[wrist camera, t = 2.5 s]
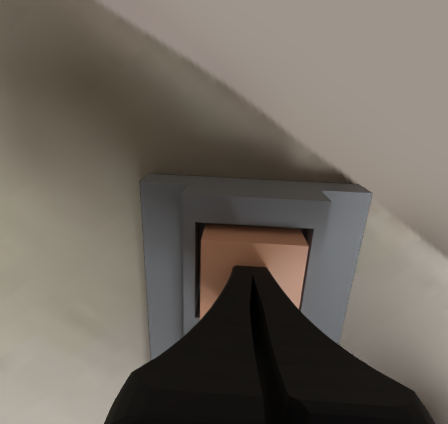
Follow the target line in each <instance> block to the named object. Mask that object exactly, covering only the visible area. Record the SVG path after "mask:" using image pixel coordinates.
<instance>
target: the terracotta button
mask: <svg viewBox="0 0 448 424" xmlns="http://www.w3.org/2000/svg"><path fill="white" fill-rule="evenodd" d="M308 248H309V246H308V244H307V242H306V240H305V238H304V236H303V233H302V231H301V229H294V228H276V227H258V226H240V225H222V224H205V228H204V231H203V235H202V238H201V282H200V319H201V318H202V317H203V316H204V315H205V314H206V313H207V311H208V310H209V309H210V308H211V306H212V305H213V304H214V302H215V301H216V299H217V298H218V296H219V295H220V293H221V292H222V290H223V288H224V287H225V285H226V283H227V281H228V279H229V277H230V275H231V272H232V268H233V267H234V266H235V265H237V266H254V267H267V268H268V270H269V271H270V273H271V274H272V276H273V277H274V279H275V280H276V282H277V283H278V284H279V286H280V287H281V288H282V290H283V291H284V292H285V294H286V295H287V296H288V297H289V299H290V300H291V301H292V302H293V303H294V305H295V306H296V307H297V308H298V309H299V305H300V298H301V292H302V286H303V279H304V273H305V267H306V260H307V254H308Z"/></svg>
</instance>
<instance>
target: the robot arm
mask: <svg viewBox="0 0 448 424" xmlns="http://www.w3.org/2000/svg"><path fill="white" fill-rule="evenodd" d="M104 424H435V422H434V421H433V419H432V417H431V416H430V414H429V412H428V411H427V409H426V408H425V406H424V405H423V404H422V402H421V401H420V399H419V398H418V396H417V395H416V394H415V392H414V391H413V390H411V389H409V388H407V387H405V386H404V385H402V384H400V383H398V382H396V381H395V380H393V379H391V378H389V377H387V376H386V375H384V374H382V373H380V372H378V371H377V370H375V369H373V368H372V367H370V366H369V365H367V364H366V363H364V362H363V361H361V360H359V359H358V358H356V357H355V356H353V355H352V354H351V353H349V352H348V351H346V350H345V349H343V348H342V347H341V346H340V345H338V344H337V343H336V342H334V341H333V340H332V339H330V338H329V337H328V336H327V335H325V334H324V333H323V332H322V331H321V330H320V329H318V328H317V327H316V326H315V325H314V324H313V323H312V322H311V321H310V320H309V319H308V318H307V317H306V316H305V315H303V313H302V312H301V311H300V310H299V309H298V308H297V307H296V306H295V305H294V303H293V302H292V301H291V300H290V299H289V297H288V296H287V295H286V294H285V292H284V291H283V290H282V288H281V287H280V286H279V284H278V283H277V282H276V280H275V279H274V277H273V276H272V274H271V273H270V271H269V270H268V268H267V267H254V266H237V265H235V266H234V267H233V268H232V272H231V275H230V277H229V279H228V281H227V283H226V285H225V287H224V288H223V290H222V292H221V293H220V295H219V296H218V298H217V299H216V301H215V302H214V304H213V305H212V306H211V308H210V309H209V310H208V311H207V313H206V314H205V315H204V316H203V317H202V318H201V319H200V321H199V322H198V323H197V324H196V325H195V326H194V327H193V328H192V329H191V330H190V331H189V332H188V333H187V334H185V335H184V336H183V337H182V338H181V339H180V340H179V341H177V342H176V343H175V344H173V345H172V346H171V347H170V348H168V349H167V350H166V351H164V352H163V353H162V354H160V355H159V356H158V357H156V358H154V359H153V360H151V361H150V362H148V363H146V364H145V365H143V366H141V367H140V368H138V369H136V370H135V371H133V372H132V373H131V374H130V376H129V377H128V379H127V380H126V382H125V384H124V385H123V387H122V389H121V390H120V392H119V394H118V396H117V397H116V399H115V401H114V403H113V405H112V407H111V409H110V411H109V413H108V416H107V418H106V421H105V423H104Z"/></svg>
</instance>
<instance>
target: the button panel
mask: <svg viewBox="0 0 448 424" xmlns="http://www.w3.org/2000/svg"><path fill="white" fill-rule="evenodd" d="M140 195H141V211H142V226H143V242H144V258H145V273H146V289H147V304H148V320H149V335H150V351H151V360H153V359H154V358H156V357H158V356H159V355H160V354H162V353H163V352H164V351H166V350H167V349H168V348H170V347H171V346H172V345H173V344H175V343H176V342H177V341H179V340H180V339H181V338H182V337H183V336H184V335H185V334H187V333H188V332H189V331H190V330H191V329H192V328H193V327H194V326H195V325H196V324H197V323H198V322H199V321H200V282H201V238H202V235H203V231H204V228H205V224H222V225H240V226H258V227H276V228H294V229H301V231H302V233H303V236H304V238H305V240H306V242H307V244H308V246H309V248H308V254H307V260H306V267H305V273H304V279H303V286H302V292H301V298H300V305H299V310H300V311H301V312H302V313H303V315H305V316H306V317H307V318H308V319H309V320H310V321H311V322H312V323H313V324H314V325H315V326H316V327H317V328H318V329H320V330H321V331H322V332H323V333H324V334H325V335H327V336H328V337H329V338H330V339H332V340H333V341H334V342H336V343H337V344H338V343H339V339H340V334H341V330H342V326H343V321H344V317H345V312H346V308H347V304H348V299H349V295H350V290H351V286H352V282H353V277H354V273H355V268H356V264H357V260H358V255H359V251H360V246H361V242H362V238H363V233H364V229H365V224H366V220H367V215H368V211H369V207H370V202H371V198H372V193H371V192H370V191H368V190H367V189H365V188H364V187H362V186H361V185H359V184H346V183H326V182H306V181H286V180H266V179H246V178H226V177H206V176H186V175H166V174H149V175H147V176H146V177H145V178H143V179H142V180H141V181H140Z"/></svg>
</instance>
